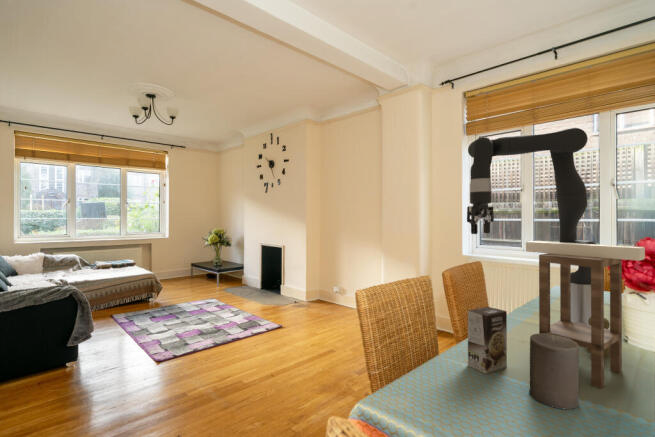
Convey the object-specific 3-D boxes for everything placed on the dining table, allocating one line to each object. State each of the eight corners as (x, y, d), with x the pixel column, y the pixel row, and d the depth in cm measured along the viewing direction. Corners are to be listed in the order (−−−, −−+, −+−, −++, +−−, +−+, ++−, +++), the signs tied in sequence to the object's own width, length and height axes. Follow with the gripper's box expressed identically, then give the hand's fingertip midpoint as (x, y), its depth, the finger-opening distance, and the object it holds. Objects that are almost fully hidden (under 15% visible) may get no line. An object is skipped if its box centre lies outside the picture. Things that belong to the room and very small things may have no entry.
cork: (616, 357, 100) (616, 320, 100) (593, 355, 101) (593, 319, 101) (603, 349, 106) (603, 314, 106) (582, 347, 107) (582, 314, 107)
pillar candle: (520, 392, 81) (520, 331, 81) (546, 383, 85) (546, 325, 84) (561, 414, 72) (562, 346, 72) (588, 403, 76) (589, 339, 76)
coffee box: (486, 374, 90) (486, 315, 90) (466, 365, 96) (466, 309, 95) (508, 367, 94) (507, 310, 94) (487, 358, 100) (487, 305, 100)
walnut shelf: (563, 353, 103) (562, 250, 102) (621, 371, 91) (621, 255, 91) (539, 367, 94) (539, 254, 93) (601, 388, 82) (600, 260, 82)
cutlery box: (532, 250, 104) (532, 240, 104) (644, 259, 83) (644, 247, 83) (525, 251, 102) (525, 241, 102) (639, 260, 80) (639, 248, 80)
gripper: (479, 189, 119) (479, 234, 119) (500, 191, 127) (500, 233, 128) (460, 191, 125) (460, 234, 126) (481, 192, 134) (481, 232, 134)
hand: (480, 233), depth 127 cm, fingers open, 8 cm apart
